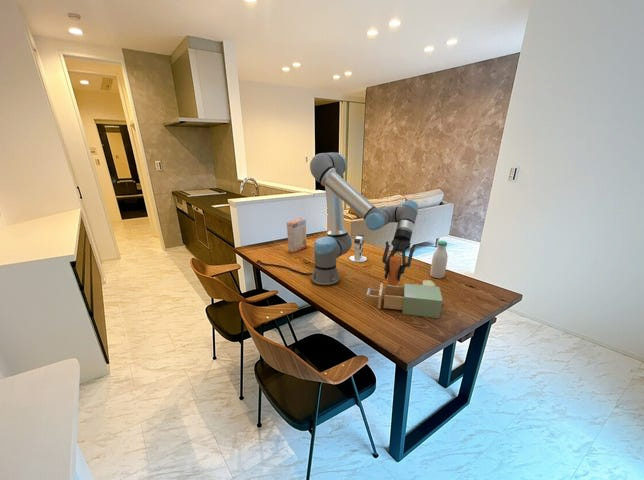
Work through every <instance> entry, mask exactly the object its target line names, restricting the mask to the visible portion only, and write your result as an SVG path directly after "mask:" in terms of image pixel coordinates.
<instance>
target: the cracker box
mask: <svg viewBox="0 0 644 480" xmlns="http://www.w3.org/2000/svg"><path fill="white" fill-rule="evenodd" d="M286 232H287V233H286V234H287V247H288V252H290V253H294V254H295V253H298V252H299V251H302V250H304V249H306V248H307V247H308V241H307V219H306V218H302V217H299V218H296V219H293V220H290V221H289V220H288V221H287V222H286Z"/></svg>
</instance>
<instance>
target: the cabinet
mask: <svg viewBox="0 0 644 480" xmlns="http://www.w3.org/2000/svg"><path fill="white" fill-rule="evenodd" d="M403 287H404V303H403V310H401V314H402V315H409V316H417V317H424V318H432V319H433V318H435V319H440V317H441V313H442V308H443V301H444V299H443V296H442V292H441V289H440V288H441V287H440V286H436V285H435V286H426V285H423V284H414V283H405V282H404V283H403Z"/></svg>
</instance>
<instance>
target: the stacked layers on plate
mask: <svg viewBox="0 0 644 480" xmlns="http://www.w3.org/2000/svg"><path fill="white" fill-rule="evenodd" d="M422 285H426V286H436V283H434V282H433V281H432V279H431V280H429V279H428V280H427V279H423V280H422Z"/></svg>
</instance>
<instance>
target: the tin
mask: <svg viewBox="0 0 644 480" xmlns="http://www.w3.org/2000/svg"><path fill="white" fill-rule="evenodd" d="M400 265H402V257H400V256H395V255H394V256H393V257H390V264H389V273H388V277H387V285H391V286H399V284H400V281H398V280H397V277H398V273H399V269H400Z"/></svg>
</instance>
